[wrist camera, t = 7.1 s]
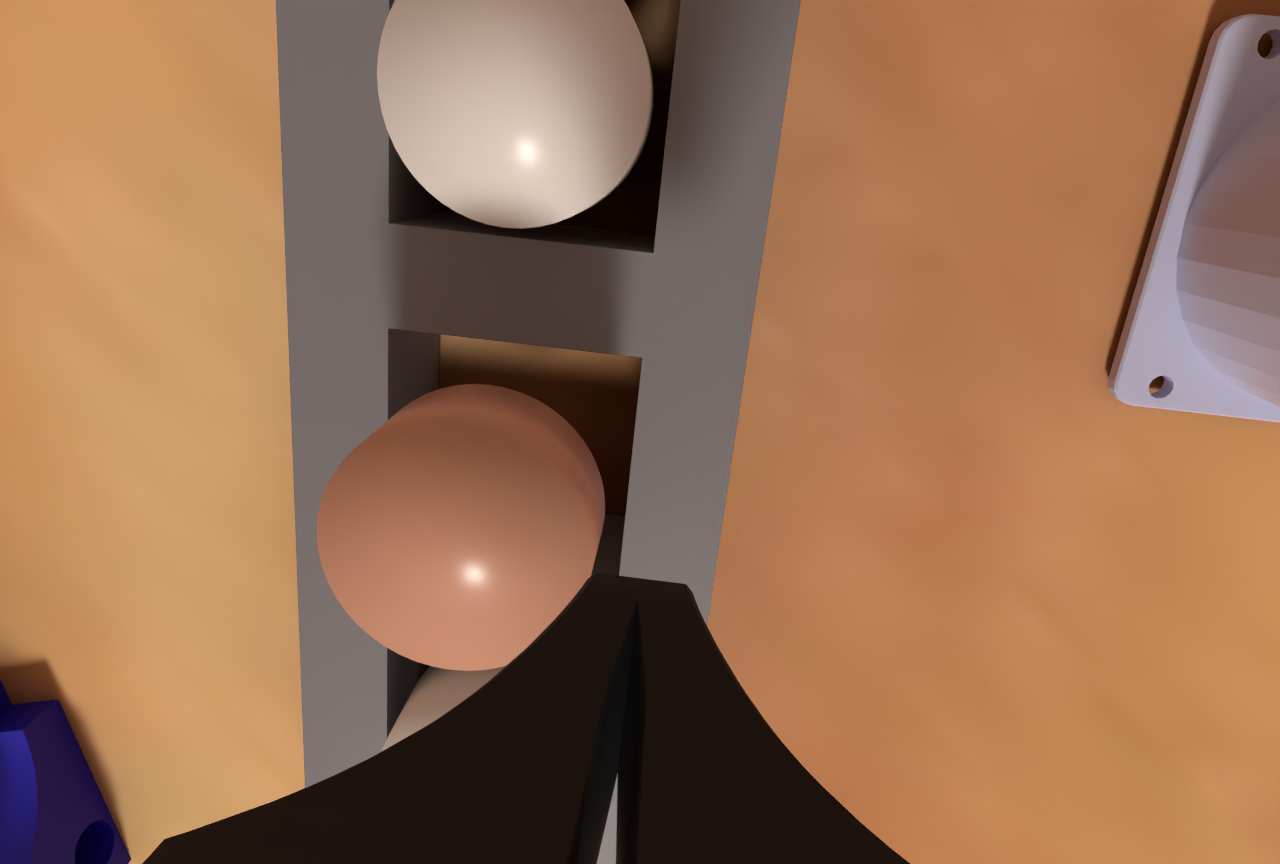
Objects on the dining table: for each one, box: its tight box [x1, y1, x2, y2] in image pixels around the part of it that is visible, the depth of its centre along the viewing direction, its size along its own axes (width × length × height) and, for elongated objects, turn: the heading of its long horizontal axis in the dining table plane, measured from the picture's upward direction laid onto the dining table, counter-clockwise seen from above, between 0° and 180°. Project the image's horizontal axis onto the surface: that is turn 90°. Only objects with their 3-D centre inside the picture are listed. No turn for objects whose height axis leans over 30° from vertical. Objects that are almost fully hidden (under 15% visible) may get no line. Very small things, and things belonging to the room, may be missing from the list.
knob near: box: [377, 0, 654, 229], centre depth 15 cm, size 4×4×5 cm
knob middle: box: [317, 384, 605, 671], centre depth 15 cm, size 4×4×5 cm
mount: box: [276, 0, 801, 864], centre depth 18 cm, size 9×23×4 cm, turn 174°
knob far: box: [381, 666, 506, 752], centre depth 20 cm, size 4×4×5 cm
